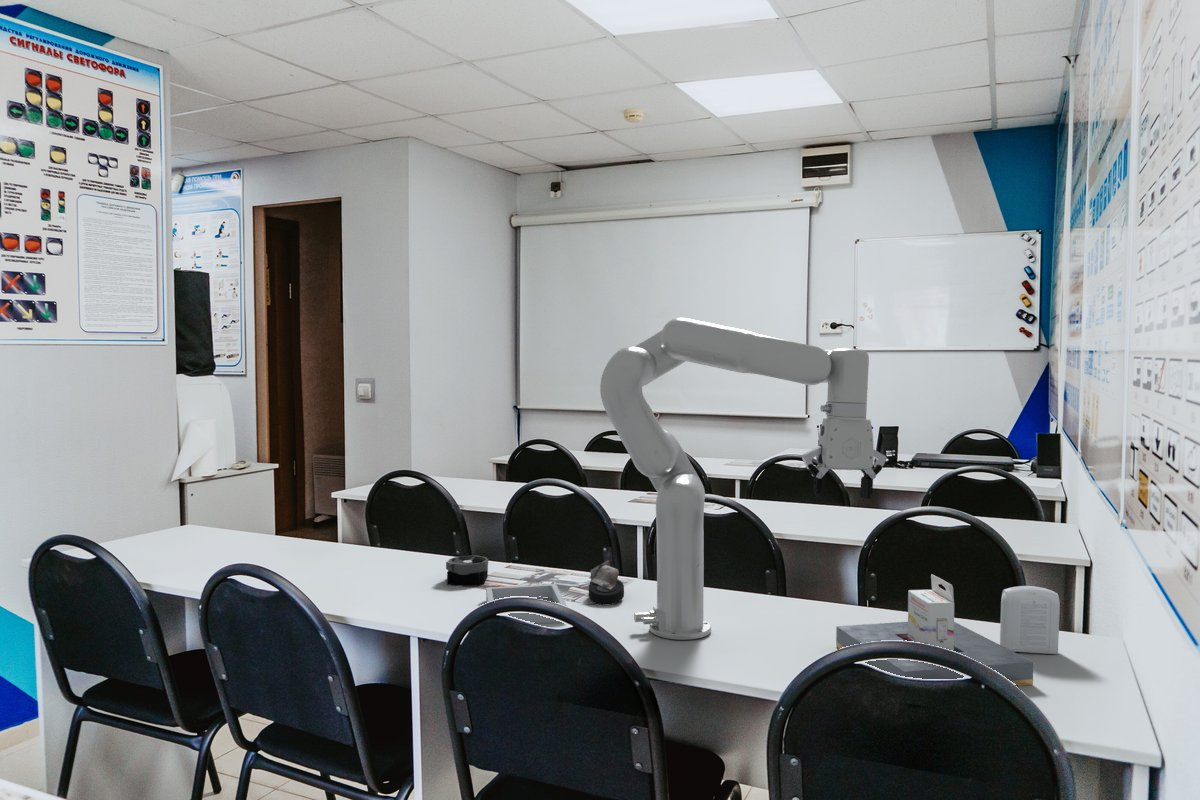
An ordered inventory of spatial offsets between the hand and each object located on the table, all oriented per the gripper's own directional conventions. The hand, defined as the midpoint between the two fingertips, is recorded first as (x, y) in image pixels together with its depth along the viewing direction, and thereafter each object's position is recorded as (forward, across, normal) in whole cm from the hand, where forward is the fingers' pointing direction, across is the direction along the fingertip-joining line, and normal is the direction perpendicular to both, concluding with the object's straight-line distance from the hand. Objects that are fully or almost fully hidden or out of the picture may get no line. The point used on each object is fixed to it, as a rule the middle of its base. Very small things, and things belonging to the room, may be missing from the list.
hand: (842, 497), depth 163 cm
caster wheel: (+30, -40, +36) cm, 62 cm away
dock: (+28, +10, -16) cm, 34 cm away
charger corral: (+31, -60, +29) cm, 73 cm away
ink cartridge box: (+27, +10, -16) cm, 33 cm away
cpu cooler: (+32, -73, +57) cm, 98 cm away
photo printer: (+27, +33, -12) cm, 45 cm away
